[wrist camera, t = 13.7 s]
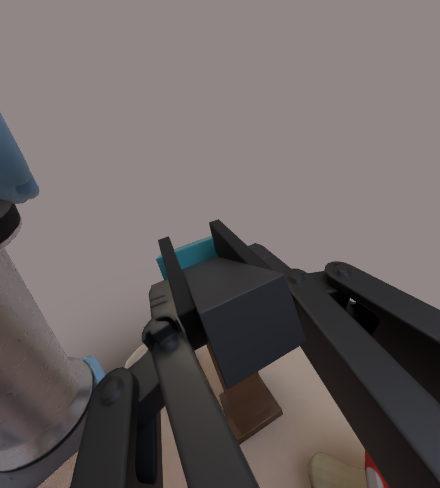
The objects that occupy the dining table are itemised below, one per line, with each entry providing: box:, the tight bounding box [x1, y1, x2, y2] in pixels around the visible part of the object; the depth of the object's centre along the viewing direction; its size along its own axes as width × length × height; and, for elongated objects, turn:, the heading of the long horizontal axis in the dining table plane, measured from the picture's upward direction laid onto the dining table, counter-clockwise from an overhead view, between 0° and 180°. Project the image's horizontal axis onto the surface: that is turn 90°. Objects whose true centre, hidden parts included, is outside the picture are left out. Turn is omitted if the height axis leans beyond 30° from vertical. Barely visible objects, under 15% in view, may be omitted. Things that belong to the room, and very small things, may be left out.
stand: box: [206, 343, 283, 444], centre depth 35 cm, size 11×11×29 cm
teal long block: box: [156, 236, 306, 389], centre depth 14 cm, size 18×6×4 cm, turn 16°
